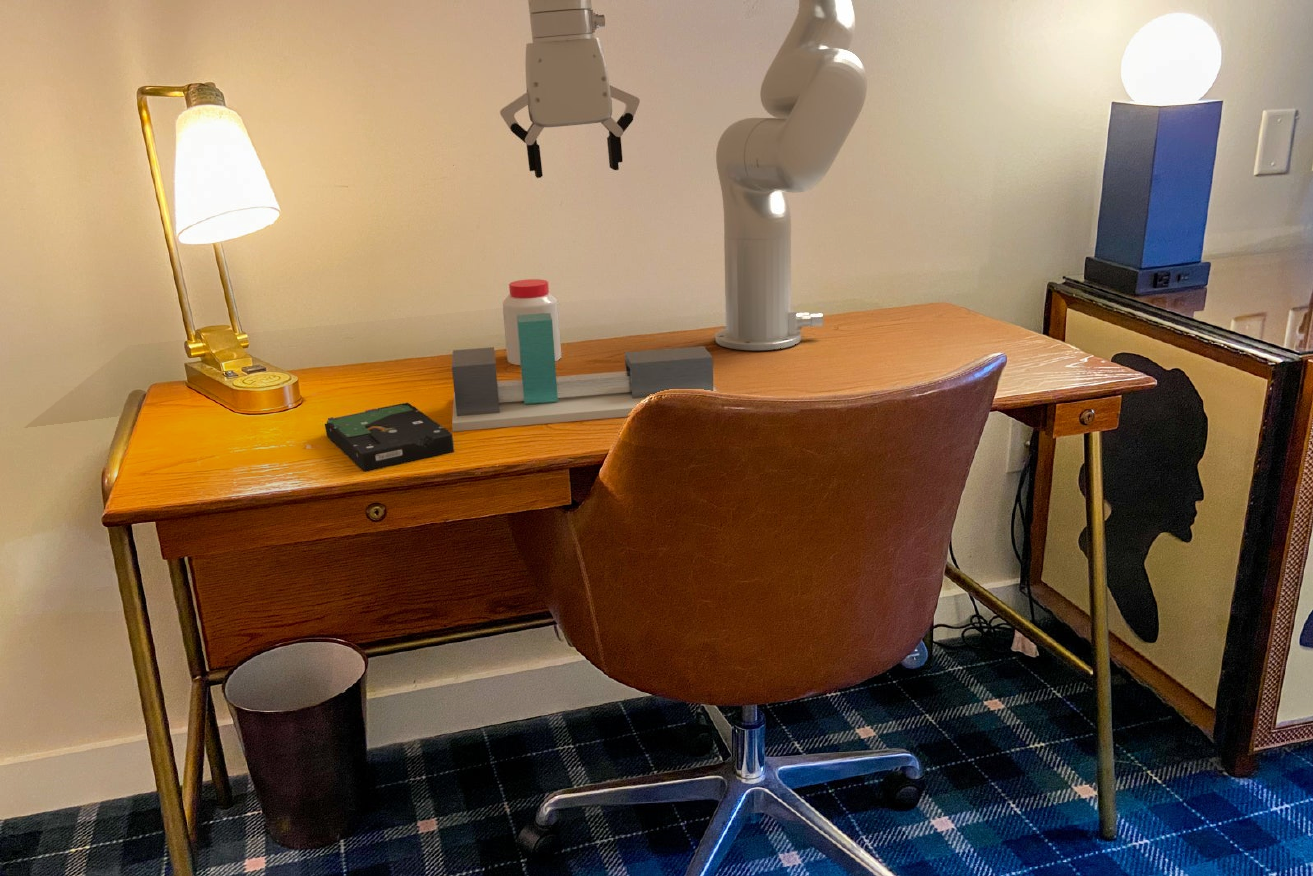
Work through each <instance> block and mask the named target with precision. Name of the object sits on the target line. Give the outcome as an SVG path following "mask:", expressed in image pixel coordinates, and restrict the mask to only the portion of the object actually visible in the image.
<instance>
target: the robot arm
mask: <svg viewBox="0 0 1313 876" xmlns="http://www.w3.org/2000/svg"><path fill="white" fill-rule="evenodd" d="M527 3H528V11H529V12H528V13H529V21H530V30H531V39H532V40H531V41H532V42H529V43H526V45H525V63H524V64H525V65H524V67H525V85H526V87H525V88H526V92H525V93H523V94H522V95H520V96H519V97H517V98H516V99H514V100H513V101H511V102H510V103H508V104H506V105H505V106H504V107H502V108H501V109H500V111H499V114H500V116H501V118H502V119H503V120H504V122H505V124H506V125H507V127H508V128H509V130H510V132H512V134H514V135H515V136H516V137H517V138H519V139H520V140H521V141H522V142H523V143H525V145H526V153H527V160H528V169H529V172H534V176H535V178H536V179H540V178H542V177H543V168H542V167H543V166H542V159H541V158H542V157H541V149H540V148H541V147H540V145H539V144H538V142H537V141H538V140H537V139H538V138H539V136H540V134H541V133H542V131H543V130H544V128H558V127H569V126H579V125H580V126H581V125H590V124H591V125H592V124H599V123H601V125H602V126H603V127H604V128H605V129H606V130H607V131H608V136H607V137H606V139H607V140H606V142H607V143H606V144H607V154H608V162H609V163H608V164H609V168H610V169H611V170H613V171H619V170H620V167H619V163H623V149H622V136H623V135H624V132H625V131H626V130H627V129H628V128H629V126H630V125H631V124H632V122H633V121H634V117H635V115H636V112H637V110H638V107H639V105H640V98H639V97H637V96H636V95H632V94H631V93H628V92H626V91H623V90H621V89H619V88H617V87H615V86H613V85H610V79H609V72H608V68H607V67H608V66H607V62H606V58H605V53H604V50H603V49H604V48H603V45H602V42H601V38H600V37H595V33H596V30H597V29H599V28H600V27H602V28H603V27H605V26H606V18H605V14H598V13H595V12H594V9H592V0H527ZM855 32H856V16H855V11H854V7H853V3H852V0H799V1H798V10H797V14H796V17H795V19H794V22H793V24H792V26H791V28H790V30H789V32H788V33H787V35H786V37H785V39H784V41H783V43H782V45H781V46H780V48H779V50H778V51H777V53H776V55H775V57H774V58H773V61H772V62H771V64H770V66H769V67H768V70H767V71H766V73H765V75H764V78H763V80H762V83H761V86H760V92H759V93H760V102H761V105H762V107H763V109H764V110H765V111H766V112H767V114H769V115H770V116H772V117H748V118H744V119H739V120H737V121H735V122H734V123H732V124H730V125H729V126H728V127H727V128H726V129H725V130H724V131H723V133H722V134H721V136H720V138H719V140H718V143H717V146H716V152H715V157H716V158H715V160H716V161H715V162H716V171H717V175H718V179H719V184H720V185H719V186H720V190H721V197H722V209H723V224H724V225H723V226H724V227H723V228H724V229H723V230H724V235H723V236H724V237H723V238H724V239H723V240H724V241H723V243H724V244H723V245H724V248H723V249H724V251H723V252H724V297H725V298H724V300H725V301H724V306H725V308H724V309H725V313H724V314H725V328H722V329H719V330H718V331H717V332H715V336H714V337H715V339H714V340H715V342H716V344H717V345H719V346H721V347H724V348H726V349H727V348H728V349H733V350H737V351H738V350H740V351H753V352H754V351H756V352H757V351H759V352H760V351H761V352H762V351H772V350H774V349H775V350H781V349H787V348H790V347H793V346H796V345H798V344H799V343H800V342H801V341H802V332H801V331H800V330H802V329H803V327H810V328H811V327H822V326H823V325H824V316H823V313H822V312H815V313H813V312H811V313H810V312H809V311H802V312H800V311H799V312H797V311H796V310H794V309H793V308H792V307H791V305H792V304H791V301H792V300H791V299H792V293H791V289H792V288H791V287H792V285H791V283H792V282H791V281H792V280H791V279H792V277H791V275H792V270H791V268H792V259H791V258H792V256H791V254H792V218H791V217H792V216H791V209H790V206H789V202H788V199H787V196H786V193H794V194H795V193H796V194H797V193H804V192H807V191H810V190H812V189H813V188H814V187H816V186H817V185H818V184H819V183H820V182H821V181H822V180H823V179H824V178H825V176H826V175H827V173H828V172H829V170H830V168H831V167H832V165H833V163H834V162H835V160H836V158H837V156H838V154H839V153H840V150H841V148H842V147H843V145H844V143H845V142H846V140H847V138H848V136H849V134H850V133H851V131H852V129H853V127H854V125H855V124H856V122H857V119H858V118H859V117H860V114H861V112H862V110H863V107H864V105H865V100H866V96H867V90H868V89H867V88H868V79H867V78H868V77H867V73H866V70H865V67H864V65H863V62H862V61H861V60H860V59H859V57H858V56H856V55H855V54H854V53H852V52H851V51H849V48H850V46H851V43H852V41H853V38H854V35H855ZM612 99H615V100H617V101H619V102H621V103H623V104H624V105H625V108H624V111H623V114H622V115H621V116H620V117H619V118H618V120H617V121H616V120H615V119H614V118H613V117H612V116H613V101H612ZM525 107H527V109H528V110H527V111H528V116H529V120H530V122H531V124H530V126H529V127H528V129H527V130H526V129H525V128H524V127H522V126H521V125H520V124H519V123H518V121H517V119H516V118H515V115H516V113H518V112H519V111H521V110H522V109H524V108H525ZM795 344H796V345H795ZM780 348H781V349H780Z"/></svg>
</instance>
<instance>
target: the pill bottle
mask: <svg viewBox="0 0 1313 876" xmlns="http://www.w3.org/2000/svg"><path fill="white" fill-rule="evenodd" d="M508 288H509V295H508V296H507V297H506V298H505V299H504V300H503V301H502V310H503V311H502V313H503V322H504V323H503V324H504V337H505V347H506V358H507V359H506V360H507V363H509V364H512V365H515V366H521V363H520V351H519V339H518V326H517V315H528V314H542V313H550V315H551V318H552V326H553V340H554V354H555V363H556V362H558V361H559V359H560V358H561V359H562V347H561V346H562V345H561V331H560V316H559V304H558V302H559V300H558V298H557V297H556V296H555V295H553V293H551V292H549V291H550V290H549V289H550V288H549V281H548V280H546V279H540V278H532V279H531V278H530V279H520V280H515V281H511V282H509V284H508ZM561 359H560V360H561Z"/></svg>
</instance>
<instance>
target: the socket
mask: <svg viewBox="0 0 1313 876" xmlns="http://www.w3.org/2000/svg"><path fill="white" fill-rule="evenodd" d="M496 363H497V362H496V351H495V347H494V346H493V347H481V348H480V347H479V348H467V349H466V348H465V349H453V350H452V359H451V371H452V381H453V383H452V384H453V391H454V392H453V394H454V393H455V403H456V412H457V416H467V415H479V414H491V413H500V408H499V397H498V386H497V381H498V375H497V365H496Z"/></svg>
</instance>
